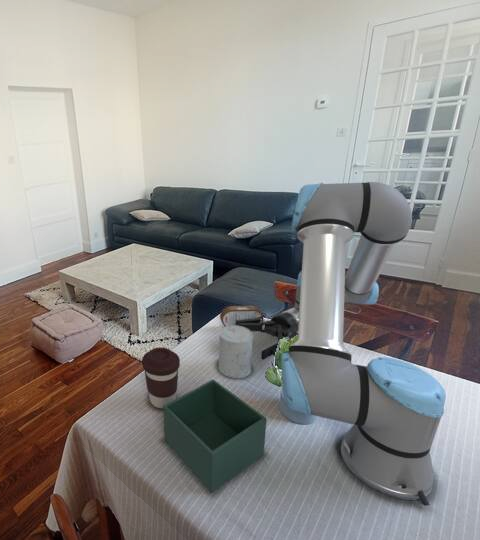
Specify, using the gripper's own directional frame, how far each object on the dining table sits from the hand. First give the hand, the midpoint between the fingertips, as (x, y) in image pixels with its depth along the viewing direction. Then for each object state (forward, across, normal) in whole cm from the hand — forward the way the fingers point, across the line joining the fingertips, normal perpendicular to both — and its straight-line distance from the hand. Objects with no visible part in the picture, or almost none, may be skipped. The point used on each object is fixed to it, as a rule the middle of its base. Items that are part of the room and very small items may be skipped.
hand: (243, 344), depth 103 cm
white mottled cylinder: (+4, 0, -7) cm, 8 cm away
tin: (-16, +15, -7) cm, 23 cm away
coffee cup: (+29, +2, -7) cm, 30 cm away
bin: (+29, -17, -7) cm, 35 cm away
